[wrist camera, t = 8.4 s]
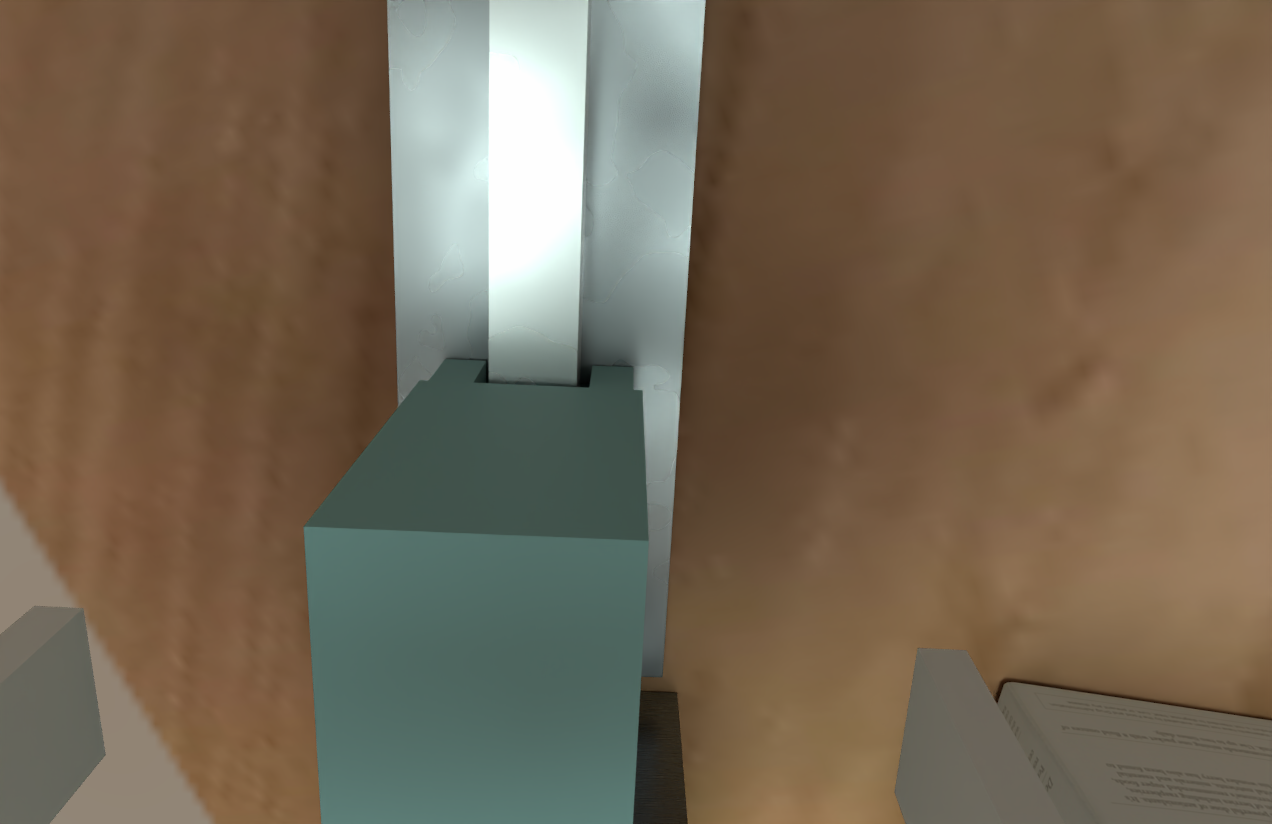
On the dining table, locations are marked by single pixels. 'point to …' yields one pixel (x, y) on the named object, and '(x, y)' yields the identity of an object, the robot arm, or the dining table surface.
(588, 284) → the rail
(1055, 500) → the dining table surface
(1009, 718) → the supplement box
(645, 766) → the grey button housing
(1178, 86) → the dining table surface
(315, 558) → the carriage
